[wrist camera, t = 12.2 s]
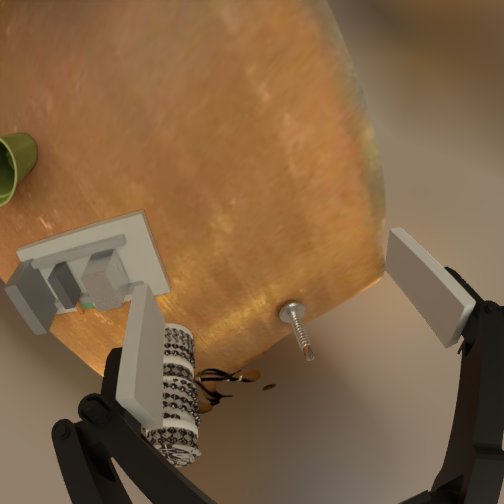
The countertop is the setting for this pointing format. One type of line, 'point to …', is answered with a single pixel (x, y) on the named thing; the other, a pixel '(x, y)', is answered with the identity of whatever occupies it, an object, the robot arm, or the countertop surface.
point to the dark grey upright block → (65, 287)
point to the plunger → (105, 280)
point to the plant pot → (15, 162)
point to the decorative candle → (178, 400)
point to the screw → (297, 325)
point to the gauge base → (84, 265)
